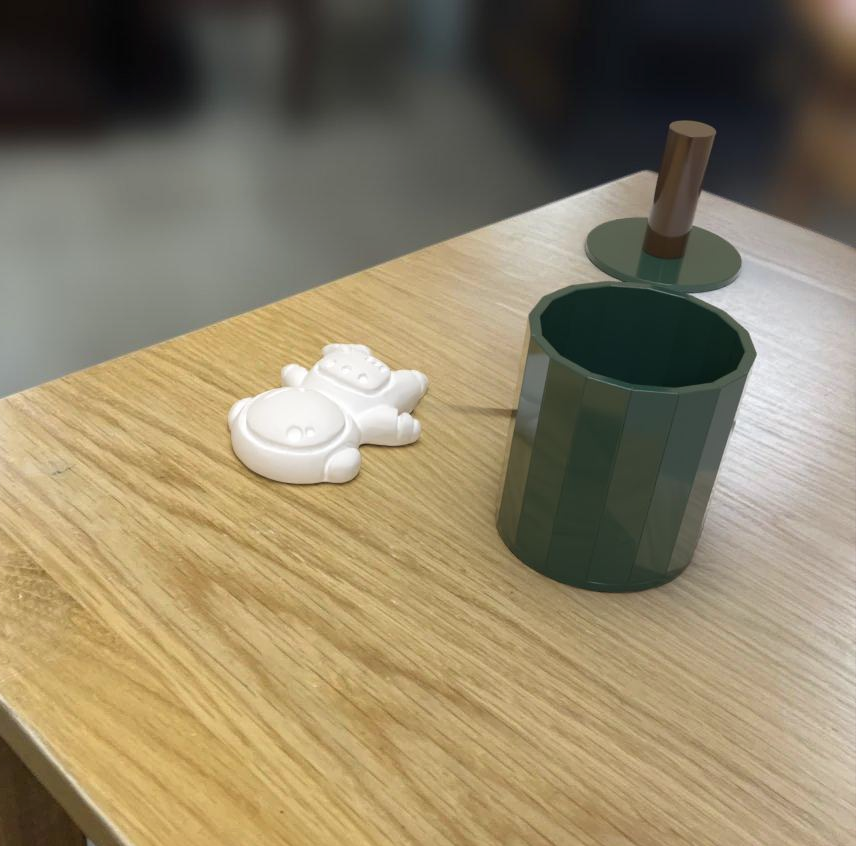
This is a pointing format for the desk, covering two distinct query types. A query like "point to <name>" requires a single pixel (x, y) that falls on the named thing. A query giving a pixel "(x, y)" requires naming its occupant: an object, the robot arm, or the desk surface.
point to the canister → (619, 432)
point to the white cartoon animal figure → (326, 417)
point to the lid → (670, 225)
